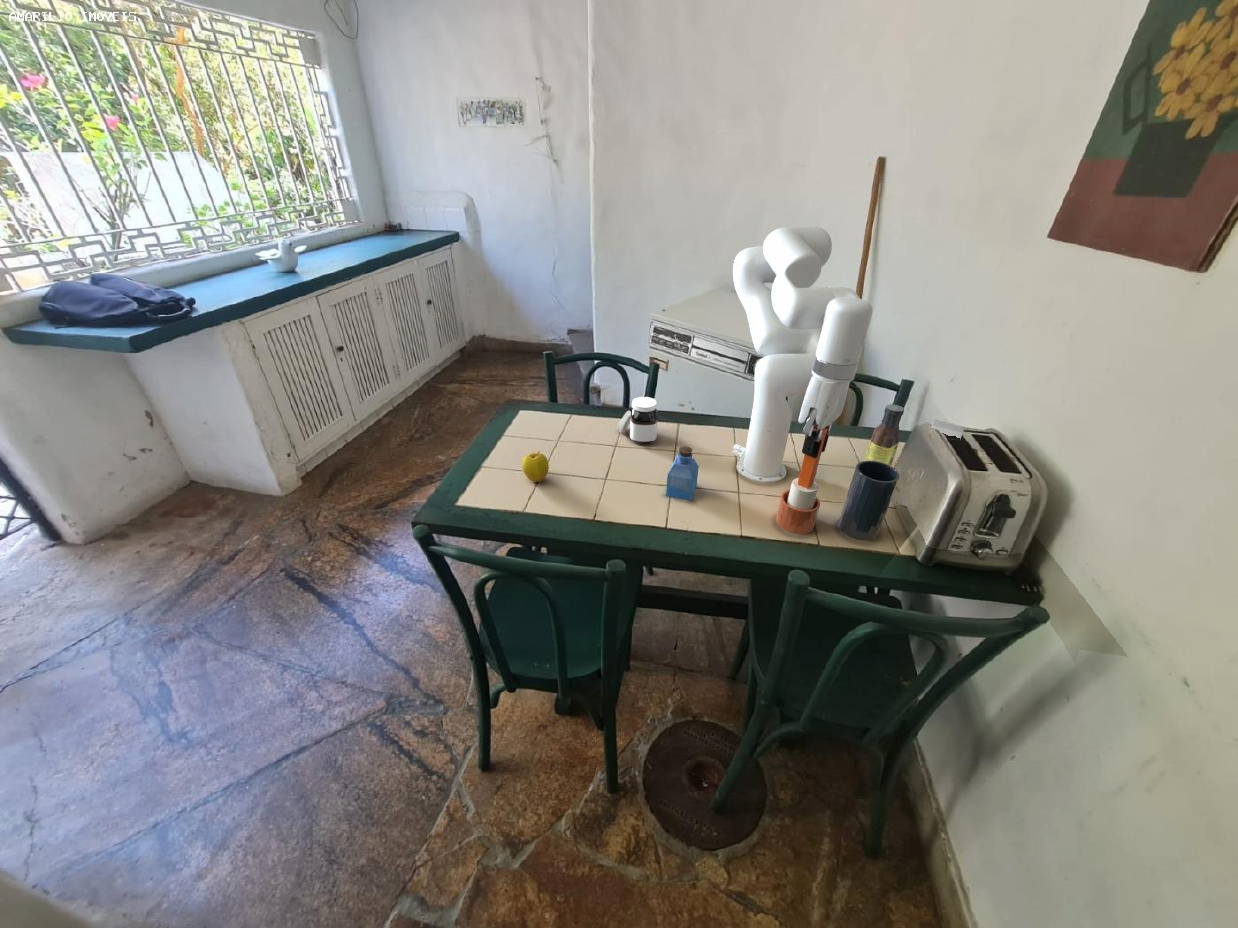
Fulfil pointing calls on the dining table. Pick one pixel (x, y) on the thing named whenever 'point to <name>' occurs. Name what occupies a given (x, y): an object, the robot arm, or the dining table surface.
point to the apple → (535, 466)
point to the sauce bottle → (886, 436)
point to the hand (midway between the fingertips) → (813, 451)
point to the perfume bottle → (683, 475)
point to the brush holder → (796, 516)
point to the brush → (806, 481)
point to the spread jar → (641, 420)
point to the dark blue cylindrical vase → (868, 500)
